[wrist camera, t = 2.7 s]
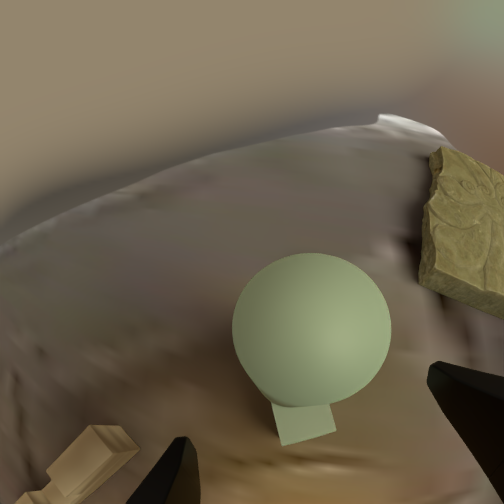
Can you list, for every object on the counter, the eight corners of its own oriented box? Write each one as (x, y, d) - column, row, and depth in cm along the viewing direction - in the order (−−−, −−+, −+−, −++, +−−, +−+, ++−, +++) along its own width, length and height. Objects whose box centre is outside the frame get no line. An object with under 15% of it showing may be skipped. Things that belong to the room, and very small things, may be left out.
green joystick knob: (330, 424, 15) (430, 439, 4) (272, 440, 15) (270, 498, 4) (301, 320, 20) (332, 191, 9) (247, 333, 19) (210, 215, 8)
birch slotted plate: (140, 449, 15) (112, 453, 11) (46, 529, 8) (20, 534, 5) (119, 425, 16) (89, 424, 12) (31, 510, 9) (5, 513, 6)
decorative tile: (519, 205, 25) (530, 189, 22) (537, 336, 15) (558, 323, 12) (417, 154, 30) (425, 133, 27) (409, 286, 21) (427, 265, 18)
